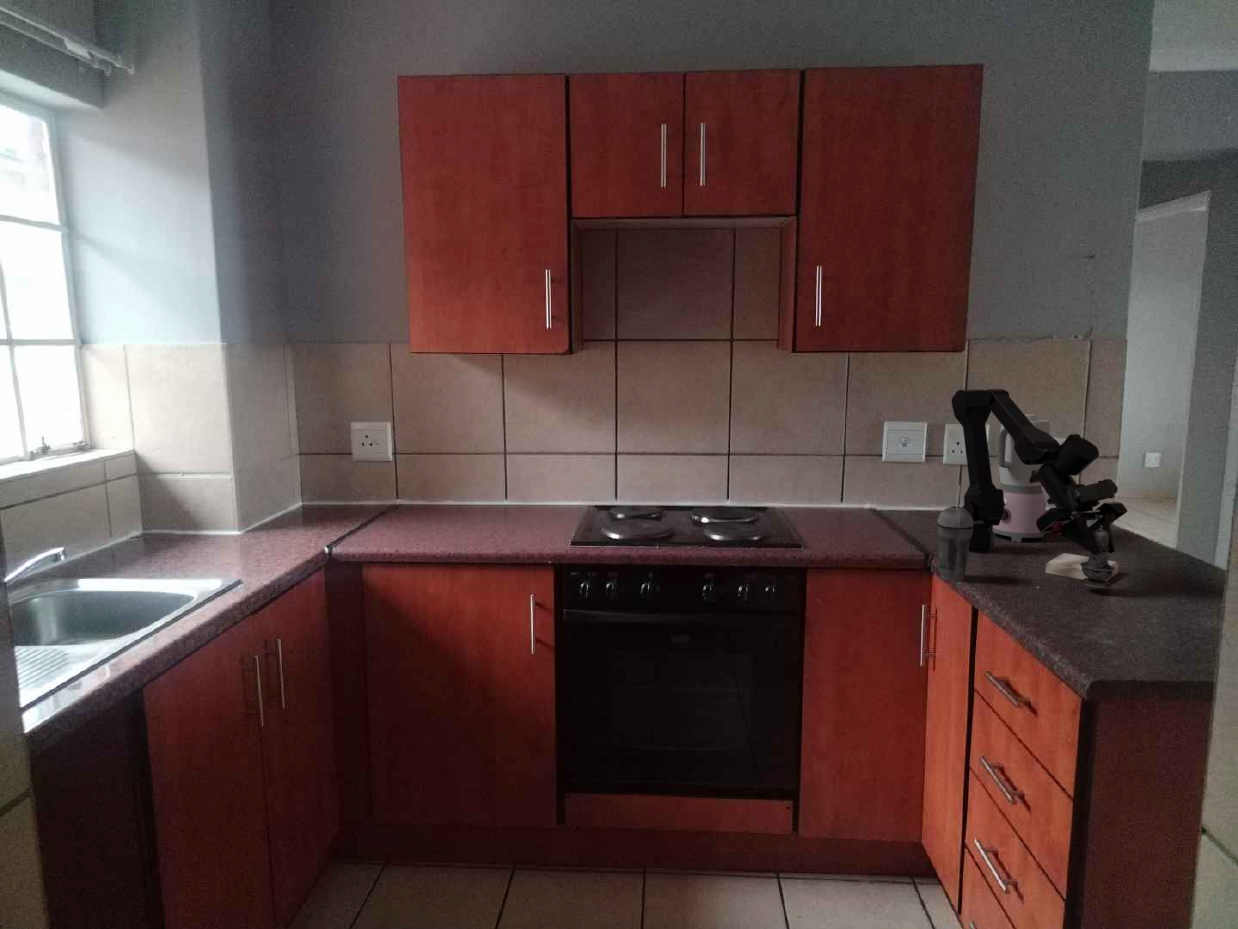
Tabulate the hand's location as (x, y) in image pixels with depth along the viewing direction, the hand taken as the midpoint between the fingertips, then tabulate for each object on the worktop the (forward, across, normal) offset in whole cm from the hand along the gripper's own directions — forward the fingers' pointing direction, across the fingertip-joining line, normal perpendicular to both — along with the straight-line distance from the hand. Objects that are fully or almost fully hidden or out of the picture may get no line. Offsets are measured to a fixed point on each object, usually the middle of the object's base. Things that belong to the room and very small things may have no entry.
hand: (1105, 553), depth 147 cm
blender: (-23, +21, +36) cm, 48 cm away
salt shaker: (+4, 0, +6) cm, 7 cm away
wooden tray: (-2, +9, +14) cm, 17 cm away
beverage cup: (-7, -20, +19) cm, 29 cm away
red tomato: (-23, +40, +36) cm, 58 cm away
